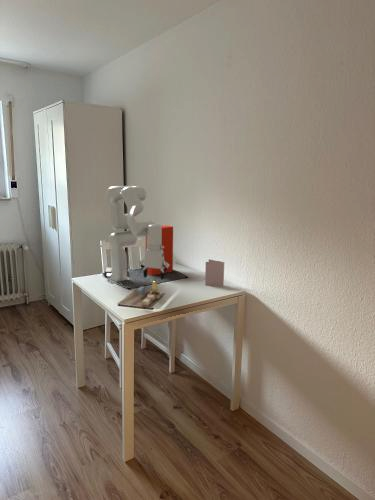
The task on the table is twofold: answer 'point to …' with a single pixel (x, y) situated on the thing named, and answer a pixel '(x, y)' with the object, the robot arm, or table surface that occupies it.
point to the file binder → (165, 250)
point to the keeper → (142, 290)
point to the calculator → (110, 271)
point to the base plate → (138, 300)
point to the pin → (154, 287)
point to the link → (151, 298)
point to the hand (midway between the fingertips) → (154, 277)
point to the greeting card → (214, 273)
